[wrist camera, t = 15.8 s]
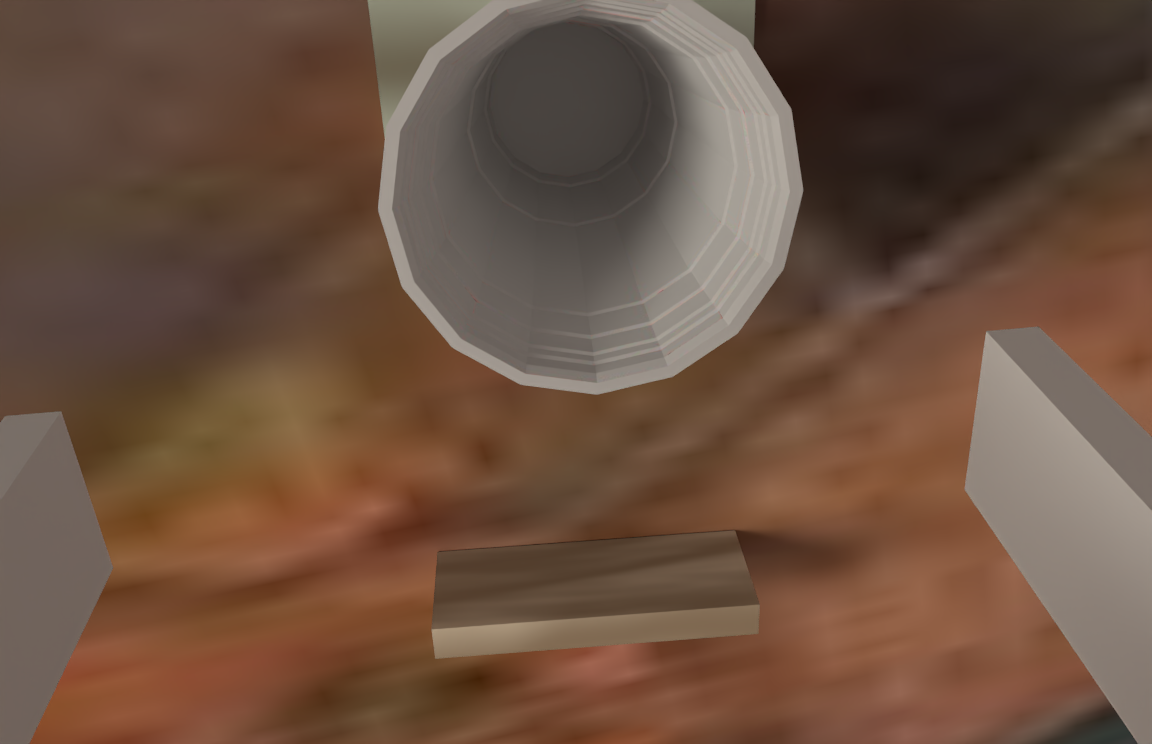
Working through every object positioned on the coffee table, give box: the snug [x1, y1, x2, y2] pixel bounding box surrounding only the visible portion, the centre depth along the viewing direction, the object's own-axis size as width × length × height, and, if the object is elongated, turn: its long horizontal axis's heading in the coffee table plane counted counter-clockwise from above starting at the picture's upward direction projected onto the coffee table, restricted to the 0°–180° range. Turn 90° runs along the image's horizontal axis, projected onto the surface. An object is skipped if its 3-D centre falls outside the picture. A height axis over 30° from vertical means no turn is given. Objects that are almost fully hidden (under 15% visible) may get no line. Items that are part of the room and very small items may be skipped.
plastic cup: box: [378, 0, 803, 394], centre depth 33 cm, size 11×11×12 cm
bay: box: [368, 0, 760, 659], centre depth 39 cm, size 30×13×5 cm, turn 2°
